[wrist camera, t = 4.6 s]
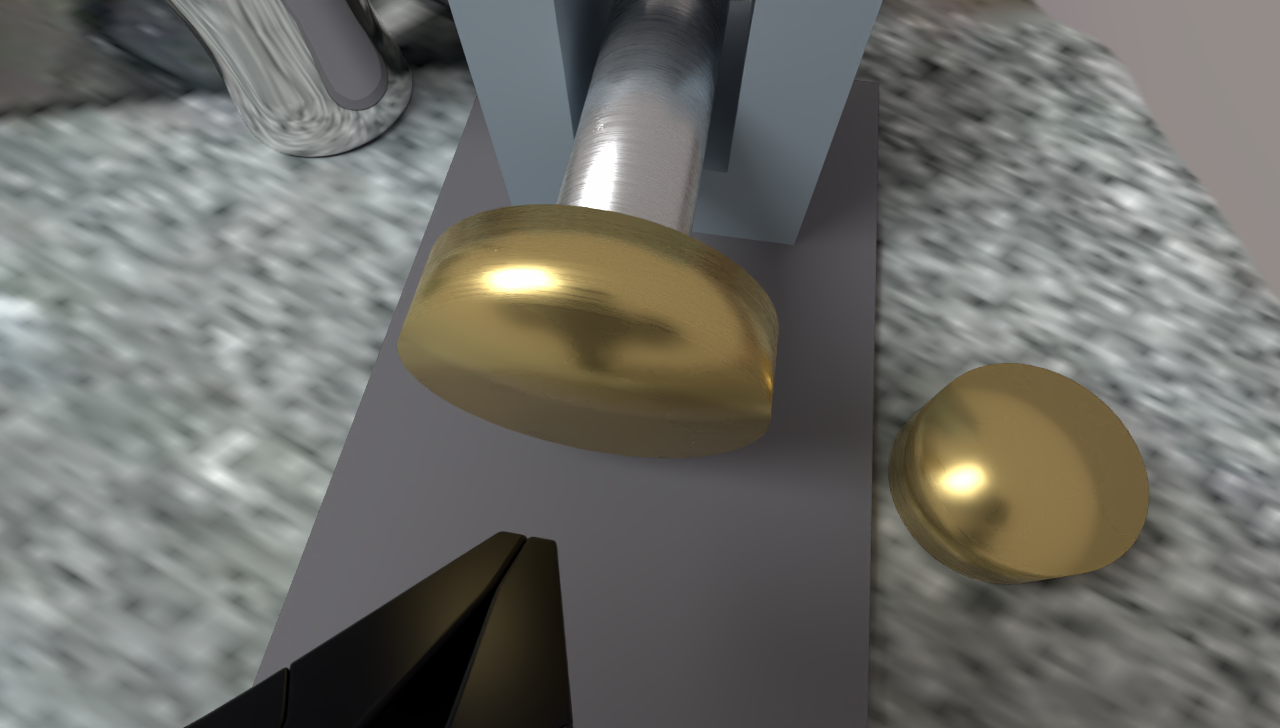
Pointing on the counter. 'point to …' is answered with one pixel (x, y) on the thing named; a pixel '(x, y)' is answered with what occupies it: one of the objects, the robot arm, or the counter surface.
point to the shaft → (609, 273)
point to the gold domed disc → (1018, 477)
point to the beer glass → (304, 69)
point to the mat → (646, 495)
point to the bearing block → (741, 115)
